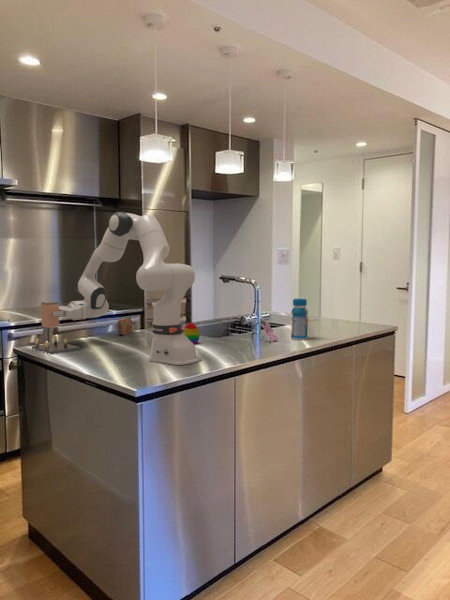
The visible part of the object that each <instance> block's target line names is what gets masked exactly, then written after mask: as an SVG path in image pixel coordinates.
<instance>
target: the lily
mask: <svg viewBox="0 0 450 600" xmlns="http://www.w3.org/2000/svg"><path fill="white" fill-rule="evenodd" d="M260 326H262V328H263V329H264V332H263V333H264V335H263V336H262V337H261V339H260V341H262V340H263V339H264V337H266V336H267V337H268V338H269V340H270V342H271V343H272V344H273V343H274V339H275V340H276V341H278V342H279V338H278V336H277V335H276V333H275V331H274V329H273V328H271V326H270V323H269V322H268V321H267V320H265V325H264V324H263V323H260Z"/></svg>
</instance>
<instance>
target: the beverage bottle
mask: <svg viewBox="0 0 450 600" xmlns="http://www.w3.org/2000/svg"><path fill="white" fill-rule="evenodd" d="M307 302H308V301H307V299H306V298H293V299H292V305H293V308H292V310H291V317H290V320H291V332H290V333H291V334H290V337H291V339H292V340H295V341H296V340H297V341H298V340H299V341H305V340H307V339H308V335H309V334H308V326H309V325H308V321H309V316H308V314H309V311H308V308H307V305H308V303H307Z"/></svg>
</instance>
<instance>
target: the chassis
mask: <svg viewBox="0 0 450 600" xmlns="http://www.w3.org/2000/svg"><path fill="white" fill-rule="evenodd" d="M39 339H40V338H35V345H33V346H31V349H32V350H33V349H36V350H35V351H37V350H40V351H44V352H47V353H46V354H48V353H50V354H49V355H55V354H54V353H56V354H61V353H60V352H62V353H68V352H73V350H74V351H79V349H81V348H80V346H77V345H74V344H69V343H68V338H67V337H66V338H63V342H61V341H58V335H54V336H53V343H50V342H49V341H48V340H46V341H44V342H45V343H44V344H40V340H39ZM40 351H39V352H40ZM67 351H68V352H67ZM44 352H43V353H44Z"/></svg>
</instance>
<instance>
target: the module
mask: <svg viewBox="0 0 450 600" xmlns="http://www.w3.org/2000/svg"><path fill="white" fill-rule="evenodd" d="M59 306H60V305H59V302H58V301H54V300H53V301H41V302H40V309H41V310H40V311H41V315H40V316H41V327H43V328H49V329H50V328H56V327H57V328H58V327H60V316H52V315H51V313H52V312H58V311H59Z"/></svg>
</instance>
